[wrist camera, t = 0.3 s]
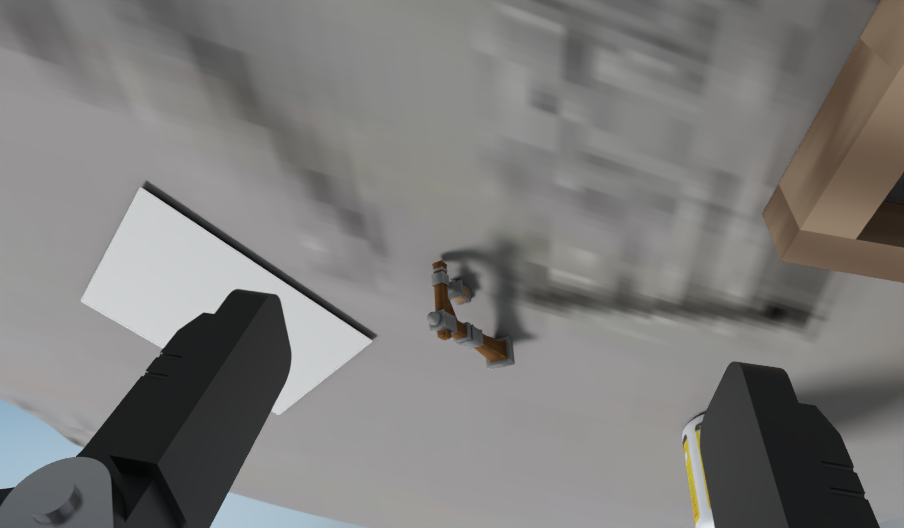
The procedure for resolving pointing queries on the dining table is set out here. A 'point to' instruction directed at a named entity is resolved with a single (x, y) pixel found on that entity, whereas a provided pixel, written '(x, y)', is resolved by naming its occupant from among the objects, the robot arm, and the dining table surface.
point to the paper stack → (207, 291)
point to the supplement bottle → (697, 474)
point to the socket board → (850, 165)
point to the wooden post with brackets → (464, 333)
